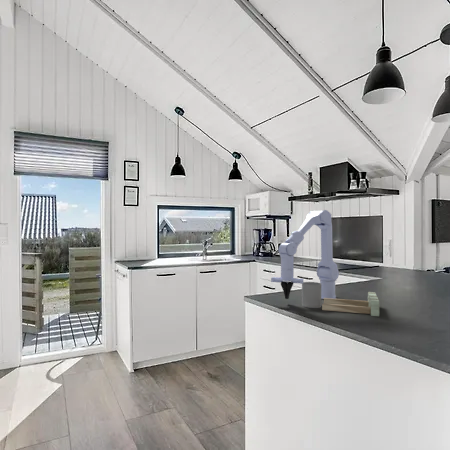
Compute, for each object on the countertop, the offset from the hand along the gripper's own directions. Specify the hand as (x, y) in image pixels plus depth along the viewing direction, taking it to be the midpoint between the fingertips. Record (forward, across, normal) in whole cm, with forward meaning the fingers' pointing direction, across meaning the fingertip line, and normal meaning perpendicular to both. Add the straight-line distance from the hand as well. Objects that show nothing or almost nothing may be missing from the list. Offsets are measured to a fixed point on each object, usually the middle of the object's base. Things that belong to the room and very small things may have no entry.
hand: (287, 298), depth 161 cm
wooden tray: (+2, +26, 0) cm, 26 cm away
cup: (+3, +11, 0) cm, 11 cm away
